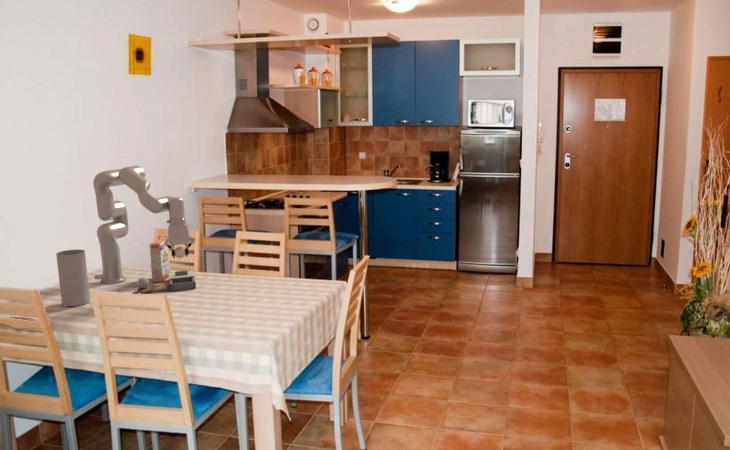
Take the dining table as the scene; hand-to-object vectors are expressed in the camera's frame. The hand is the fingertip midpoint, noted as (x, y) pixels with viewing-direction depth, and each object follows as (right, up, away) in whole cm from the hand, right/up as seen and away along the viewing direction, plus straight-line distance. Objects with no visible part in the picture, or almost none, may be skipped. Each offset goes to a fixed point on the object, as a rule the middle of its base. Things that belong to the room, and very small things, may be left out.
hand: (180, 256), depth 348 cm
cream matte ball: (0, +2, 0) cm, 2 cm away
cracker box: (-15, -13, +21) cm, 29 cm away
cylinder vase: (-45, -22, -20) cm, 53 cm away
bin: (-1, -15, +9) cm, 17 cm away
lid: (-3, -10, +12) cm, 16 cm away
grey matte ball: (-18, -13, -3) cm, 22 cm away
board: (-14, -17, -2) cm, 22 cm away
